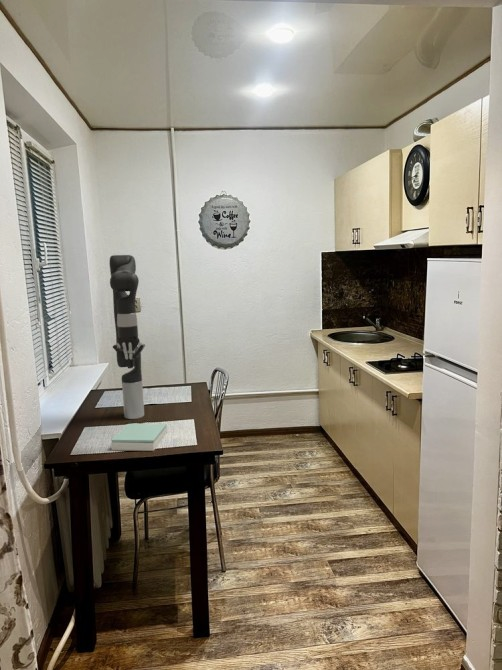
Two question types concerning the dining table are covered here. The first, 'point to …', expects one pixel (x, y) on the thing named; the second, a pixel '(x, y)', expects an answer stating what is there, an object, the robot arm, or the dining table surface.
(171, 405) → the dining table surface
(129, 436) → the cover
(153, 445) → the drive bay
